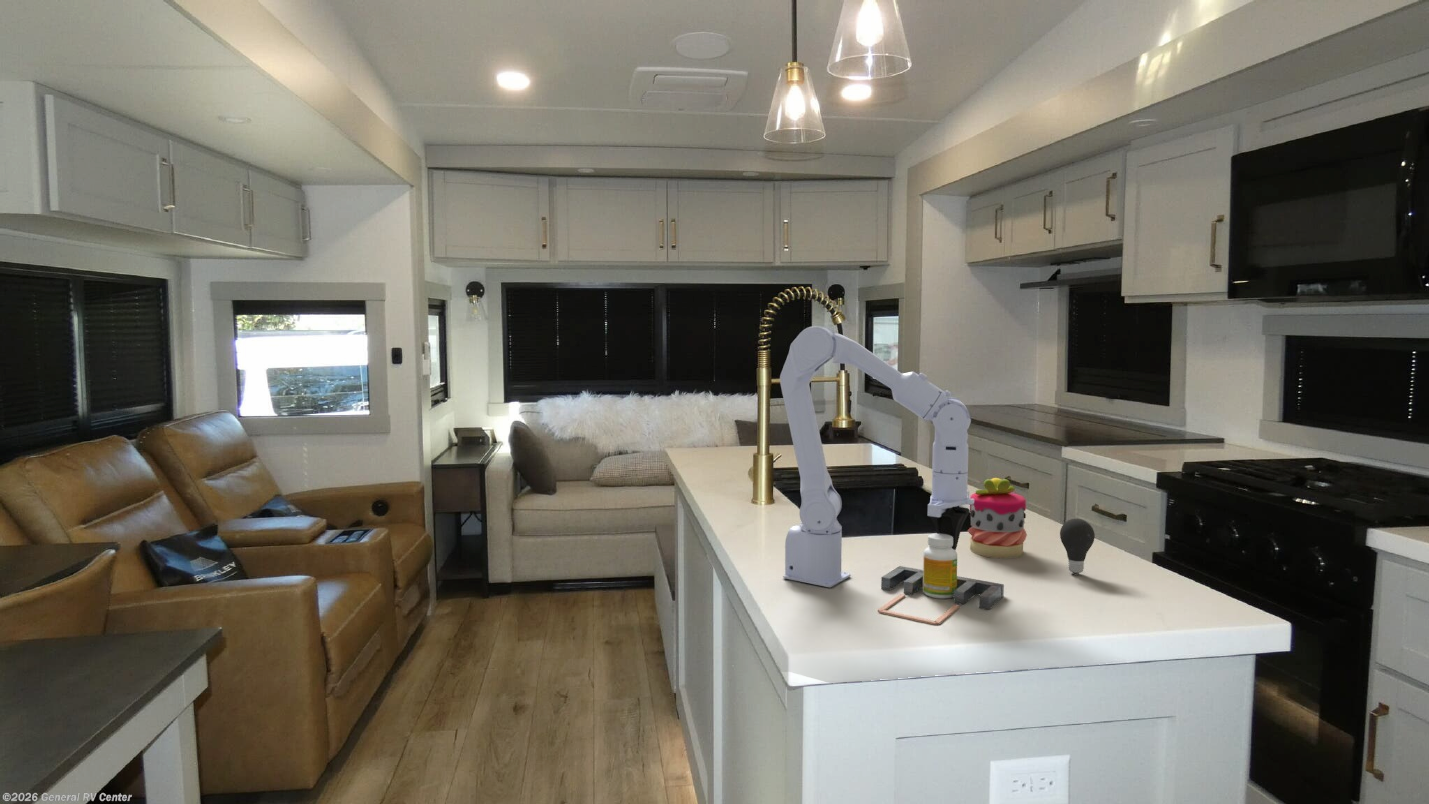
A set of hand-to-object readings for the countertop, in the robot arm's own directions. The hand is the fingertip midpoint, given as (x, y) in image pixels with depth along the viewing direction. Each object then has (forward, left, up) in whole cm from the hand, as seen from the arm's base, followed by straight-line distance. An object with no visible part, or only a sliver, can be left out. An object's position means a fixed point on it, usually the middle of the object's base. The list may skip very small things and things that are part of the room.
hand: (948, 550), depth 136 cm
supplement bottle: (0, -4, -7) cm, 8 cm away
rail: (0, -4, -6) cm, 7 cm away
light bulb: (+16, +20, -7) cm, 27 cm away
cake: (0, +27, -7) cm, 28 cm away
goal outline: (0, -13, -6) cm, 14 cm away
